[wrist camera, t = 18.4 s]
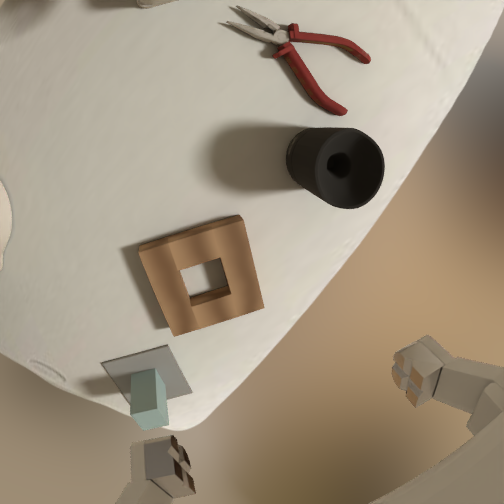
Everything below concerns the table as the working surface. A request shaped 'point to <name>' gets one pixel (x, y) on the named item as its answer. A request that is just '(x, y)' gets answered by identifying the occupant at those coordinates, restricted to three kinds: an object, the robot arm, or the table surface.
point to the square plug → (148, 400)
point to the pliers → (293, 58)
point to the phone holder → (152, 3)
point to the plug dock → (196, 252)
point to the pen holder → (337, 165)
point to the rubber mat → (146, 361)
